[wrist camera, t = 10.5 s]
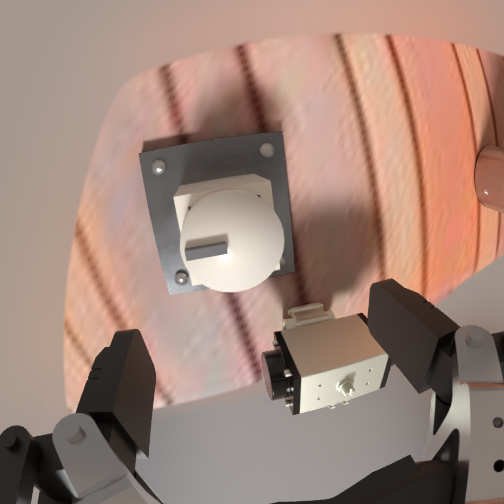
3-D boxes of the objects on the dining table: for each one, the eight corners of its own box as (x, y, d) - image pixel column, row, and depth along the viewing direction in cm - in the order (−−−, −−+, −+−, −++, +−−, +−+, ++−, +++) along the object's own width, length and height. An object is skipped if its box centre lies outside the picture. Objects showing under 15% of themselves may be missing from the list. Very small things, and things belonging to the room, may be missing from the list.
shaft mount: (278, 132, 24) (301, 127, 18) (291, 268, 28) (313, 296, 23) (141, 153, 22) (123, 154, 17) (170, 290, 27) (164, 325, 21)
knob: (253, 173, 24) (281, 185, 16) (262, 242, 26) (290, 285, 18) (180, 185, 23) (169, 204, 15) (193, 255, 25) (191, 304, 17)
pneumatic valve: (248, 307, 29) (277, 394, 18) (352, 288, 31) (415, 351, 19) (253, 348, 31) (279, 434, 20) (348, 328, 33) (400, 395, 21)
